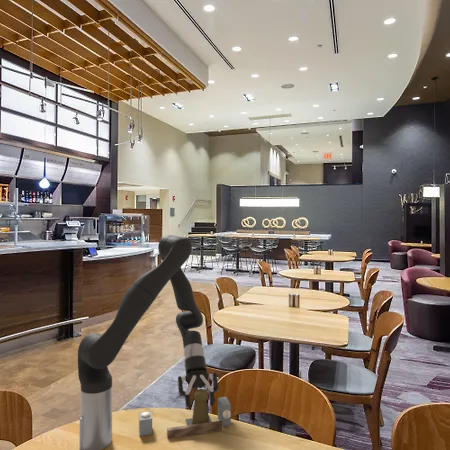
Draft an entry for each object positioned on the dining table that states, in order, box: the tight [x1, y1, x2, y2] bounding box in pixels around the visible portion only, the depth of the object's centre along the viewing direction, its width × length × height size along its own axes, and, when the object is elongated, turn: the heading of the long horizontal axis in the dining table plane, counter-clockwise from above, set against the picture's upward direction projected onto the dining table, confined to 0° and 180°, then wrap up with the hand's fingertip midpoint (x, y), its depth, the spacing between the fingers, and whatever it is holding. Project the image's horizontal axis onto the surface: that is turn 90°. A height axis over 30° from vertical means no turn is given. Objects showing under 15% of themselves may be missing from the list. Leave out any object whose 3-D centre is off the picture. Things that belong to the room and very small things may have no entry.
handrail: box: [166, 420, 224, 439], centre depth 120 cm, size 18×2×2 cm, turn 105°
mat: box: [185, 415, 213, 425], centre depth 125 cm, size 8×8×1 cm
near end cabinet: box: [138, 410, 153, 437], centre depth 121 cm, size 4×5×6 cm
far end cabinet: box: [217, 396, 232, 427], centre depth 126 cm, size 3×7×7 cm, turn 15°
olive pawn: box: [192, 388, 210, 425], centre depth 125 cm, size 6×6×11 cm
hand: (200, 406), depth 123 cm, fingers open, 7 cm apart
